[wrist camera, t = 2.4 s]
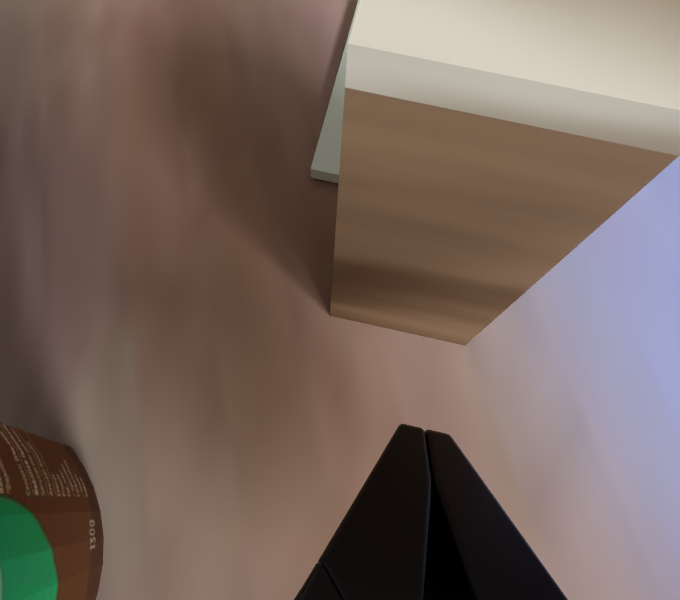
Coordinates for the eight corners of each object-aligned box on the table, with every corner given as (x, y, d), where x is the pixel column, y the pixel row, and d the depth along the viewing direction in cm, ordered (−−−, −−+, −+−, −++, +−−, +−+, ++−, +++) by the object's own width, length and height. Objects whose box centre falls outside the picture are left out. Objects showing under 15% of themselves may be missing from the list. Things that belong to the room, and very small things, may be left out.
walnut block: (465, 345, 18) (720, 119, 6) (329, 315, 18) (348, 43, 7) (481, 224, 19) (707, -122, 8) (357, 198, 20) (410, -178, 8)
